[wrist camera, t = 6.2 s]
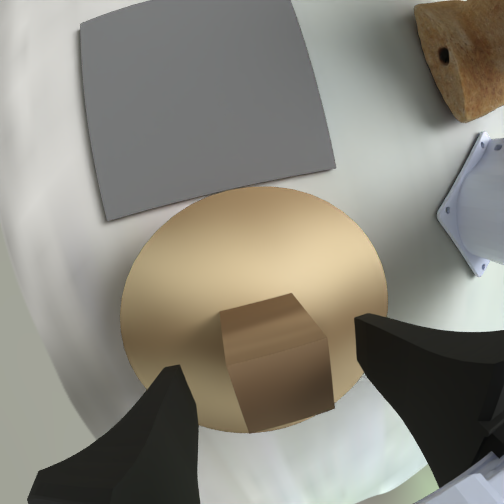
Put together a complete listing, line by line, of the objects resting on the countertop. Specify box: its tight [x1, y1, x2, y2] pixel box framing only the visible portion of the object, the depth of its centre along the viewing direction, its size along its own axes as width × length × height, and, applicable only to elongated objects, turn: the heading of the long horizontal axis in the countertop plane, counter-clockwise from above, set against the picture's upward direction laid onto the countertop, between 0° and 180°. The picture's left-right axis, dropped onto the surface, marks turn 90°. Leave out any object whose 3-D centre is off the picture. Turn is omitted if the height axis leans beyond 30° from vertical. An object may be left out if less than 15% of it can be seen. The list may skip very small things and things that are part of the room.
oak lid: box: [120, 187, 388, 434], centre depth 11 cm, size 12×12×5 cm
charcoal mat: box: [80, 0, 336, 221], centre depth 14 cm, size 13×13×1 cm
